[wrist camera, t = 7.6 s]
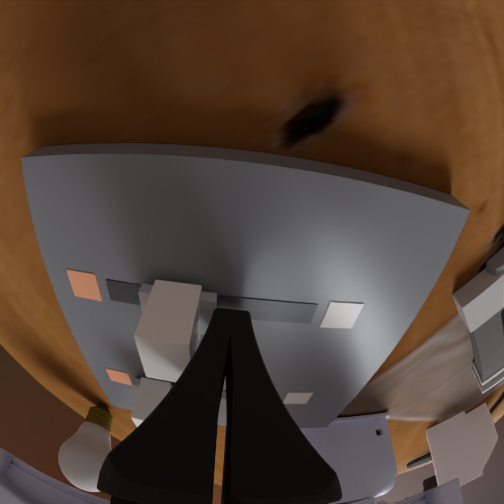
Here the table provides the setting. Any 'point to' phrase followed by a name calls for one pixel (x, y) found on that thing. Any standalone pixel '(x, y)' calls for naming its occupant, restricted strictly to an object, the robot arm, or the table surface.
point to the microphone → (430, 481)
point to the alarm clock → (485, 320)
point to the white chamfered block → (462, 445)
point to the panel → (240, 257)
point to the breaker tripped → (171, 326)
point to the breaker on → (147, 397)
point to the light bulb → (87, 449)
